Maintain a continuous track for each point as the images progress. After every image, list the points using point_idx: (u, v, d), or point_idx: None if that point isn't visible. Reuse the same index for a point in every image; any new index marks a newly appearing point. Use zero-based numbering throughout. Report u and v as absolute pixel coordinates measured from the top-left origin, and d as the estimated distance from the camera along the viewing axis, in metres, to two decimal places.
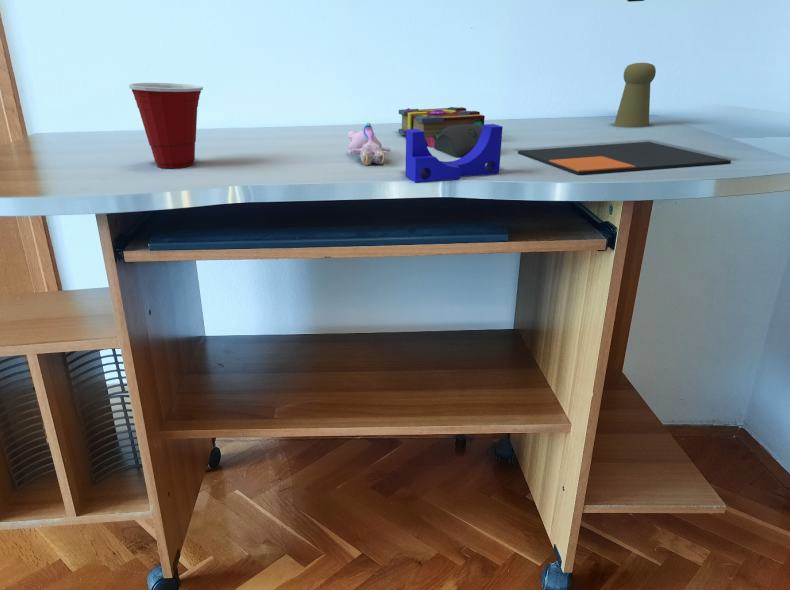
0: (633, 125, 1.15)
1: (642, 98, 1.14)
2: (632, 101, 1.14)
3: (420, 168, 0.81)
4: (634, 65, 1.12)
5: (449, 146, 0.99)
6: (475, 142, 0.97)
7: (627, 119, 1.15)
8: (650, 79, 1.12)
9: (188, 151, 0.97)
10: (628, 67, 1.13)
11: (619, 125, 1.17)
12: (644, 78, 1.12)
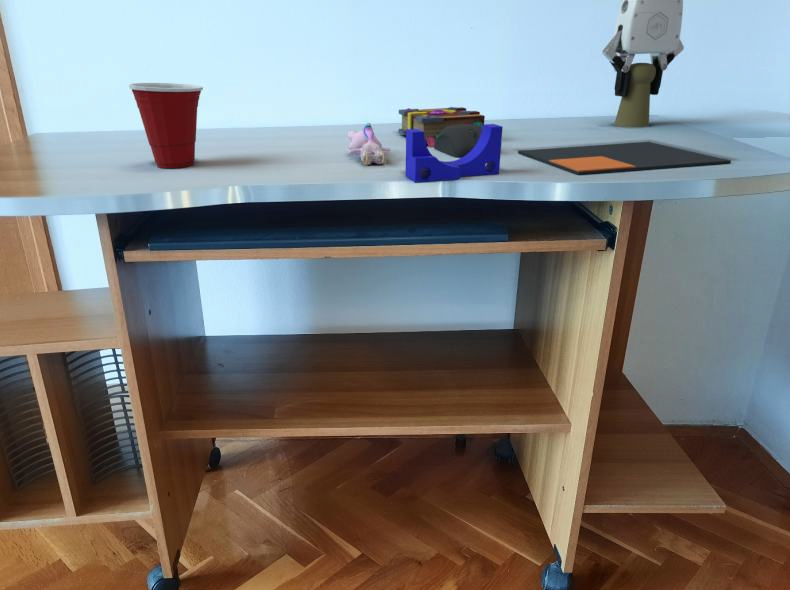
0: (632, 125, 1.15)
1: (642, 98, 1.14)
2: (632, 101, 1.14)
3: (420, 168, 0.81)
4: (634, 65, 1.12)
5: (449, 146, 0.99)
6: (475, 142, 0.97)
7: (627, 119, 1.15)
8: (650, 79, 1.12)
9: (188, 151, 0.97)
10: None
11: (619, 125, 1.17)
12: (644, 78, 1.12)
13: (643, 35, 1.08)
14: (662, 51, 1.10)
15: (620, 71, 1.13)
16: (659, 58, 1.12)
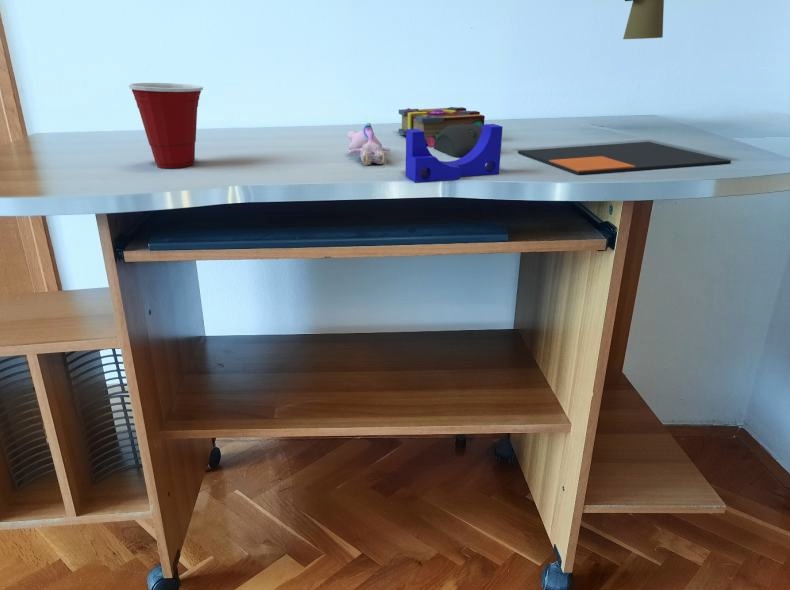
0: (645, 32, 1.04)
1: (655, 1, 1.02)
2: (644, 5, 1.03)
3: (420, 168, 0.81)
4: None
5: (449, 146, 0.99)
6: (475, 142, 0.97)
7: (639, 26, 1.04)
8: None
9: (188, 151, 0.97)
10: None
11: (629, 34, 1.05)
12: None
13: None
14: None
15: None
16: None
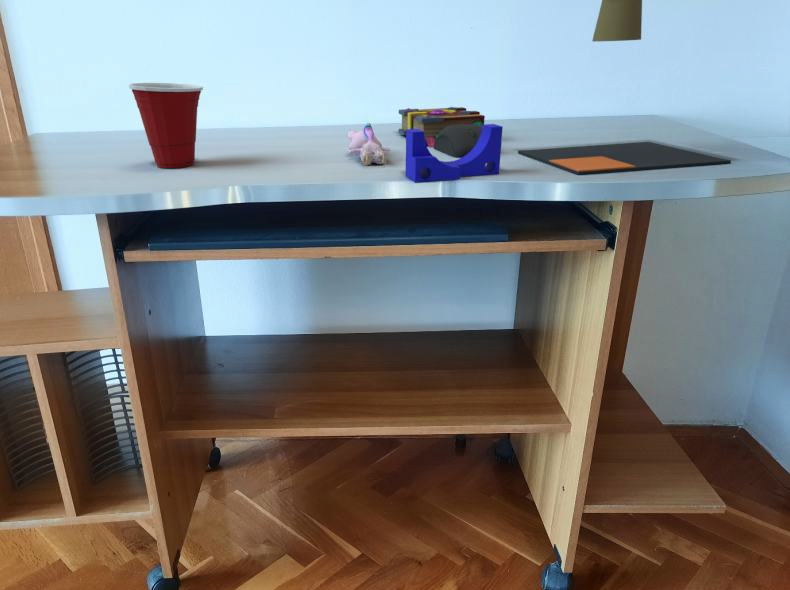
0: (618, 33, 0.82)
1: None
2: None
3: (420, 168, 0.81)
4: None
5: (449, 146, 0.99)
6: (474, 142, 0.97)
7: (611, 25, 0.82)
8: None
9: (188, 151, 0.97)
10: None
11: (599, 35, 0.83)
12: None
13: None
14: None
15: None
16: None
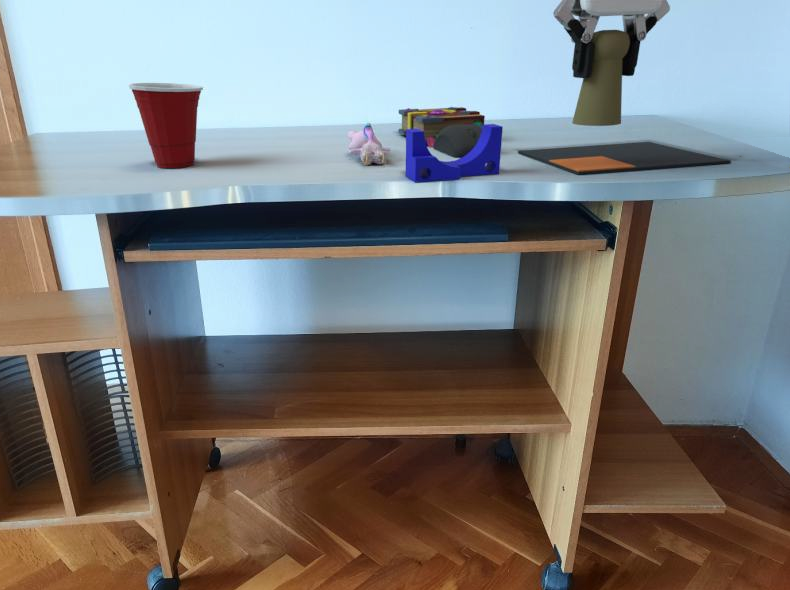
0: (598, 118, 0.81)
1: (611, 80, 0.80)
2: (596, 84, 0.80)
3: (420, 168, 0.81)
4: (599, 33, 0.79)
5: (448, 146, 0.99)
6: (474, 142, 0.97)
7: (591, 110, 0.81)
8: (622, 53, 0.79)
9: (188, 151, 0.97)
10: None
11: (579, 119, 0.83)
12: (613, 50, 0.78)
13: None
14: (638, 11, 0.76)
15: (579, 41, 0.79)
16: (635, 23, 0.78)
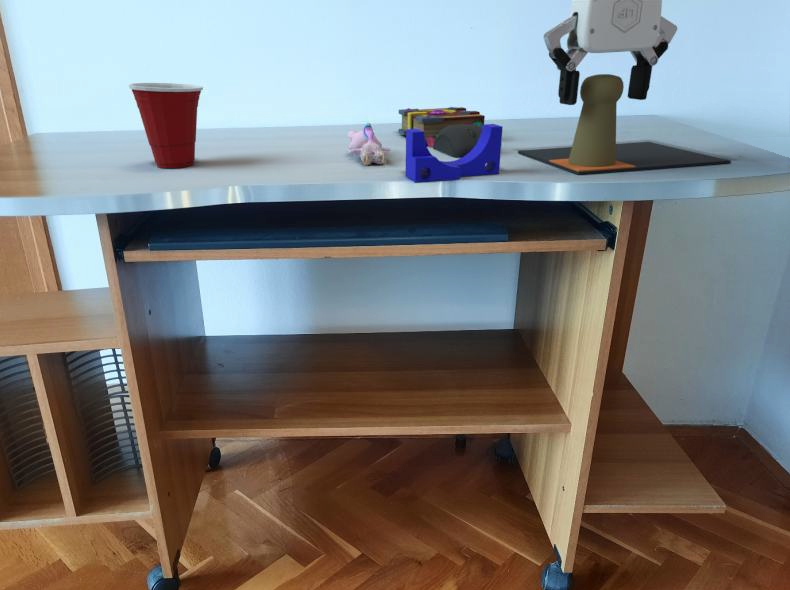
0: (593, 159, 0.84)
1: (605, 124, 0.82)
2: (591, 127, 0.83)
3: (420, 168, 0.81)
4: (593, 78, 0.81)
5: (448, 146, 0.99)
6: (474, 142, 0.97)
7: (586, 152, 0.84)
8: (616, 97, 0.81)
9: (188, 151, 0.97)
10: (586, 80, 0.82)
11: (575, 159, 0.85)
12: (607, 95, 0.80)
13: (607, 26, 0.76)
14: (634, 48, 0.78)
15: (564, 69, 0.80)
16: (643, 53, 0.80)
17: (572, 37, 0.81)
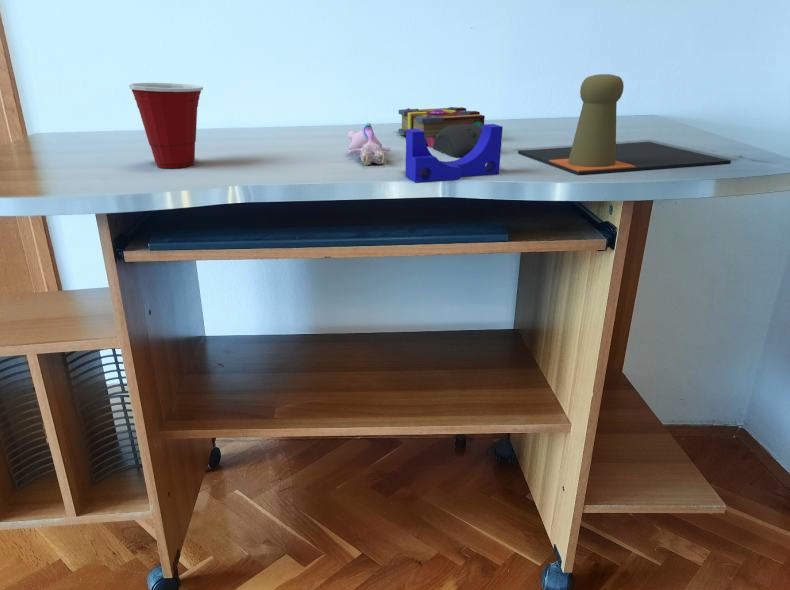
0: (593, 159, 0.84)
1: (605, 123, 0.82)
2: (591, 127, 0.83)
3: (420, 168, 0.81)
4: (593, 78, 0.81)
5: (448, 146, 0.99)
6: (474, 142, 0.97)
7: (586, 151, 0.84)
8: (616, 97, 0.81)
9: (188, 151, 0.97)
10: (586, 80, 0.82)
11: (575, 159, 0.85)
12: (607, 95, 0.80)
13: None
14: None
15: None
16: None
17: None
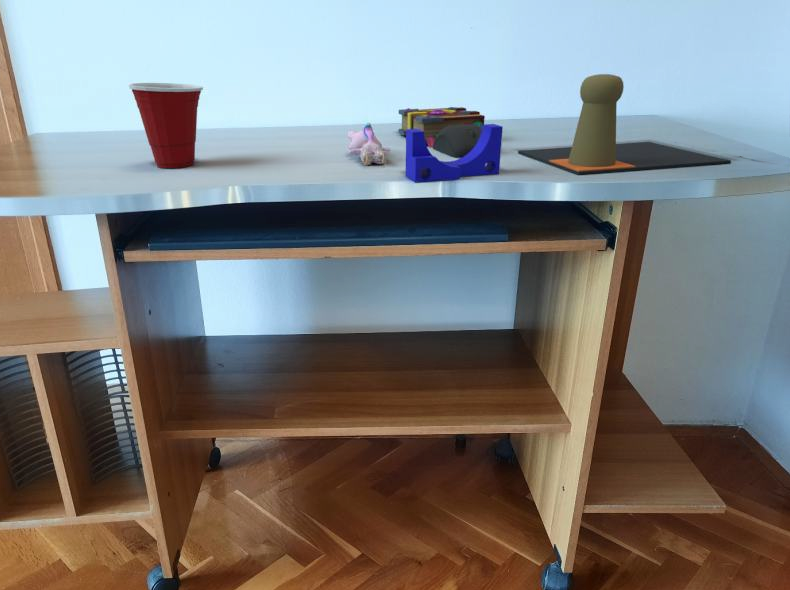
0: (593, 159, 0.84)
1: (605, 123, 0.82)
2: (591, 127, 0.83)
3: (420, 168, 0.81)
4: (593, 78, 0.81)
5: (448, 146, 0.99)
6: (474, 142, 0.97)
7: (586, 151, 0.84)
8: (616, 97, 0.81)
9: (188, 151, 0.97)
10: (586, 80, 0.82)
11: (575, 159, 0.85)
12: (607, 95, 0.80)
13: None
14: None
15: None
16: None
17: None
